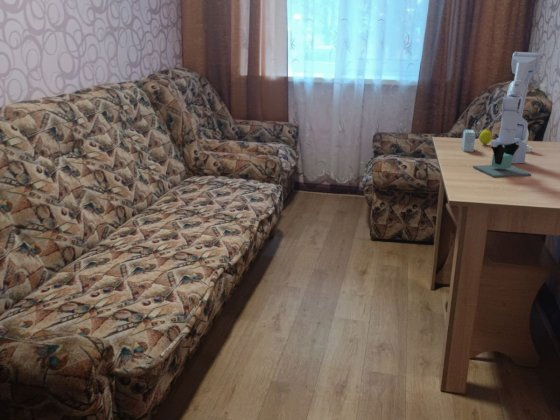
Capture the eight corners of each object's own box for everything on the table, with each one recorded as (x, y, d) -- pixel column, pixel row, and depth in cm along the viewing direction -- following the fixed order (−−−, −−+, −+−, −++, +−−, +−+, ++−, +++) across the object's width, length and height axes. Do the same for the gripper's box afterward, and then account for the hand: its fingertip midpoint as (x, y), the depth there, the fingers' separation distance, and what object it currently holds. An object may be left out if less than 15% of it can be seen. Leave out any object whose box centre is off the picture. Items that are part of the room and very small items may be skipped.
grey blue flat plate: (508, 166, 218) (508, 164, 217) (530, 175, 205) (531, 173, 204) (472, 167, 214) (473, 165, 214) (493, 177, 201) (493, 175, 201)
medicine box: (473, 152, 240) (476, 133, 237) (463, 151, 241) (465, 132, 238) (471, 148, 247) (473, 129, 244) (461, 147, 248) (463, 129, 245)
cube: (499, 164, 212) (501, 152, 211) (510, 167, 208) (512, 155, 207) (491, 166, 210) (493, 153, 208) (502, 169, 206) (504, 156, 204)
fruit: (477, 145, 253) (480, 128, 250) (478, 143, 258) (481, 126, 255) (490, 146, 251) (492, 129, 248) (491, 144, 256) (493, 127, 253)
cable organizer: (532, 151, 243) (536, 130, 240) (510, 151, 243) (514, 129, 240) (527, 149, 248) (531, 127, 245) (505, 148, 248) (509, 127, 245)
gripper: (511, 125, 210) (506, 158, 215) (486, 128, 203) (481, 162, 208) (527, 128, 205) (521, 162, 209) (502, 131, 198) (496, 167, 202)
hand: (502, 163), depth 208 cm, fingers closed on cube, 5 cm apart
